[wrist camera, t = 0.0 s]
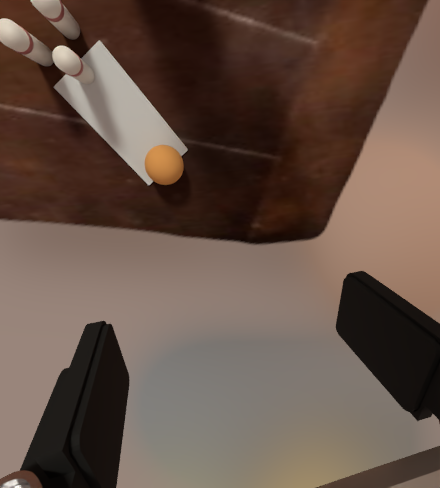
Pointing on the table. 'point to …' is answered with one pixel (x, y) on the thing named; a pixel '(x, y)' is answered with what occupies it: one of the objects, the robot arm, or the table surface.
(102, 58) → the lane mark
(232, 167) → the table surface
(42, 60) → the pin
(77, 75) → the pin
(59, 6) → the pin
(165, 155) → the ball
